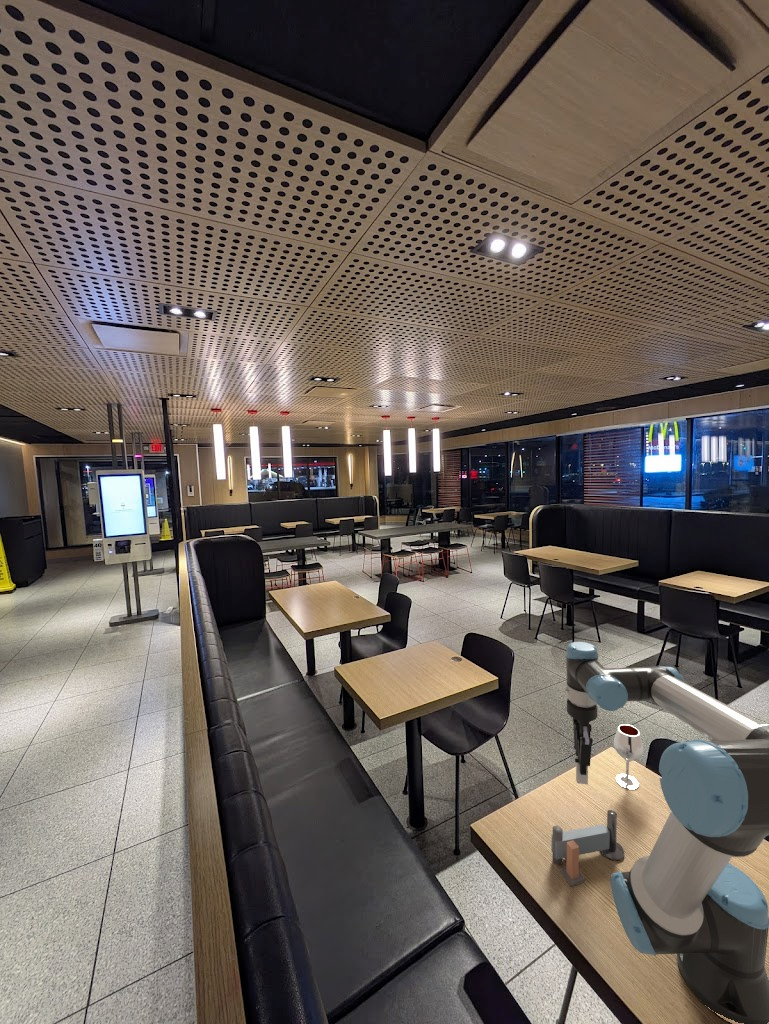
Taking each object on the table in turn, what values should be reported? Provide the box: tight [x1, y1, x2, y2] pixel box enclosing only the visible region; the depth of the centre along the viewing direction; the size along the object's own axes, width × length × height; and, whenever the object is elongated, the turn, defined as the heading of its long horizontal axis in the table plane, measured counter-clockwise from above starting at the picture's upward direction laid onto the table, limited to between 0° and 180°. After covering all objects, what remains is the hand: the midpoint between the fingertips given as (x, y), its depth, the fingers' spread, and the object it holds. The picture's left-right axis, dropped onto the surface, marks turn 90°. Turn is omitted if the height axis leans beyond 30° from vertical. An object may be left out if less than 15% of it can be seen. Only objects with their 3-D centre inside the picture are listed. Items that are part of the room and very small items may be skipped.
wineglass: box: [613, 724, 644, 791], centre depth 133 cm, size 8×8×18 cm
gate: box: [550, 823, 610, 866], centre depth 109 cm, size 15×2×9 cm, turn 98°
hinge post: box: [599, 809, 625, 862], centre depth 111 cm, size 6×6×11 cm
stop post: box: [559, 840, 586, 887], centre depth 104 cm, size 4×4×9 cm
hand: (581, 781), depth 114 cm, fingers closed
